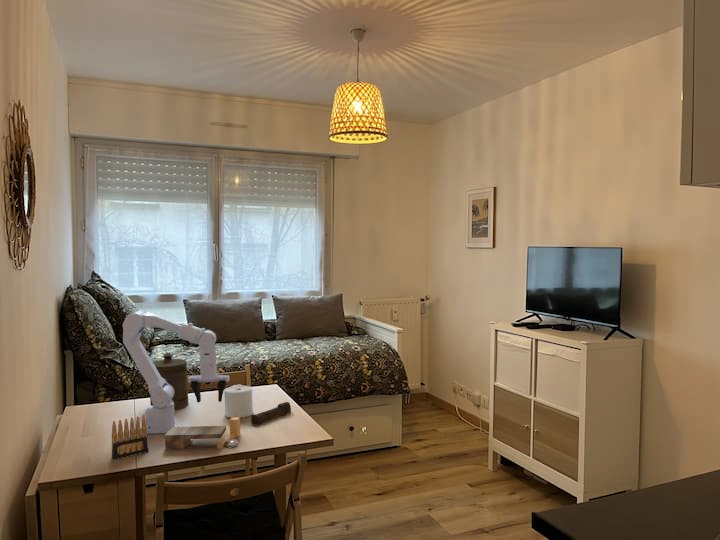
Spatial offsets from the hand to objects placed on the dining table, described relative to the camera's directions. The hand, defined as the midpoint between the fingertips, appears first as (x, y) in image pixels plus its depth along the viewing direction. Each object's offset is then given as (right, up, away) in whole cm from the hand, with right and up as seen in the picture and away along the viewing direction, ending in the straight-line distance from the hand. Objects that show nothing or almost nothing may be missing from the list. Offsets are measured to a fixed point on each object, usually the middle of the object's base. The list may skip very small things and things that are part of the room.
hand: (209, 401), depth 200 cm
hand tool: (+21, -9, +10) cm, 25 cm away
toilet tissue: (+7, -9, +16) cm, 19 cm away
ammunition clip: (-18, -11, -25) cm, 33 cm away
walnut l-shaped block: (0, -10, -17) cm, 20 cm away
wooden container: (-24, -9, +28) cm, 38 cm away
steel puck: (+12, -10, -18) cm, 24 cm away
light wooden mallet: (+10, -10, -14) cm, 20 cm away
